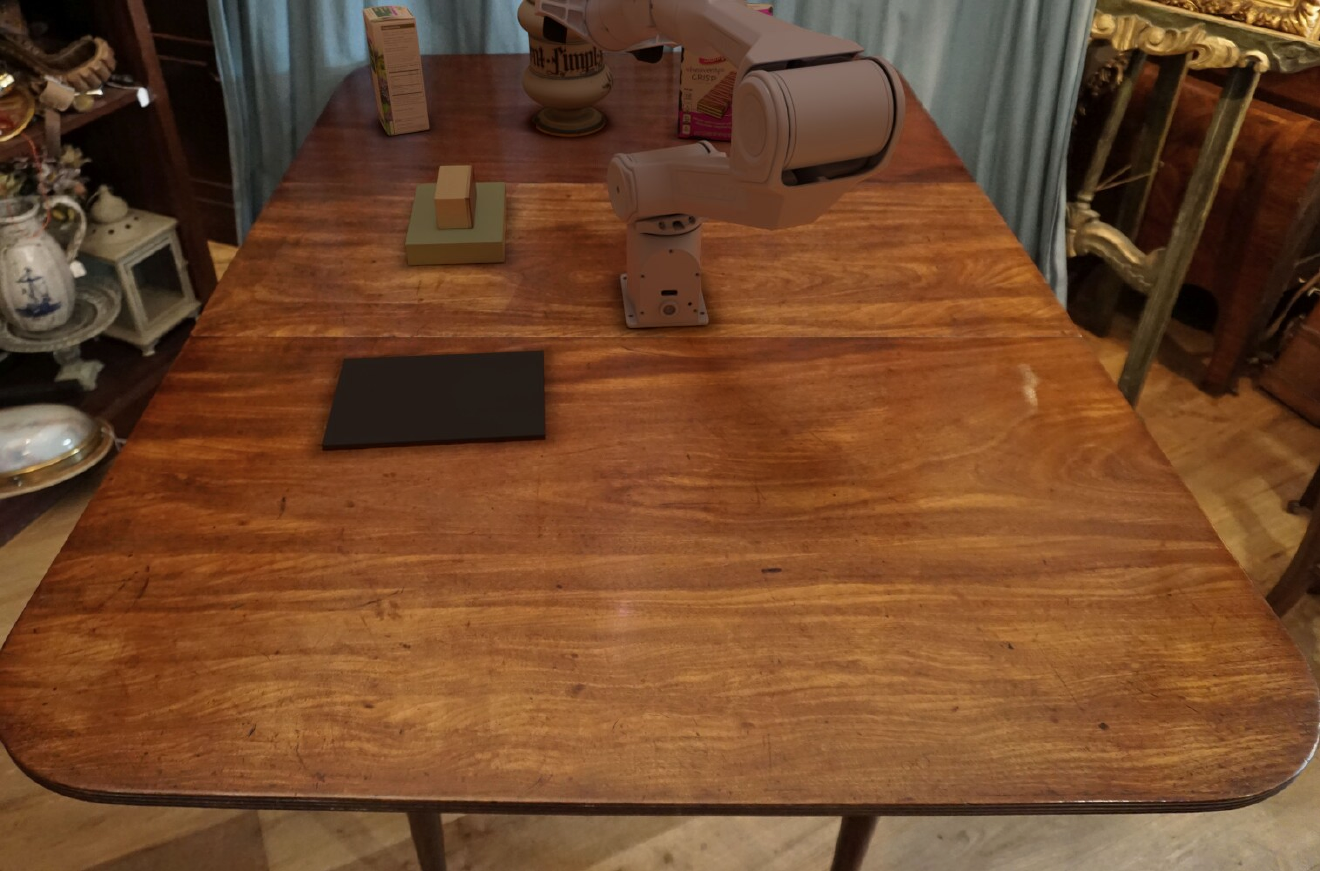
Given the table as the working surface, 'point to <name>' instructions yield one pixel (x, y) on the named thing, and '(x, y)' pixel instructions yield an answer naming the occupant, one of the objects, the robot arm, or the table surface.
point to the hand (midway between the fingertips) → (586, 31)
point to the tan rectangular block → (455, 197)
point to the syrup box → (396, 69)
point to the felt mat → (437, 400)
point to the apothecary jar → (563, 79)
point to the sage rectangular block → (460, 243)
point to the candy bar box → (708, 93)
